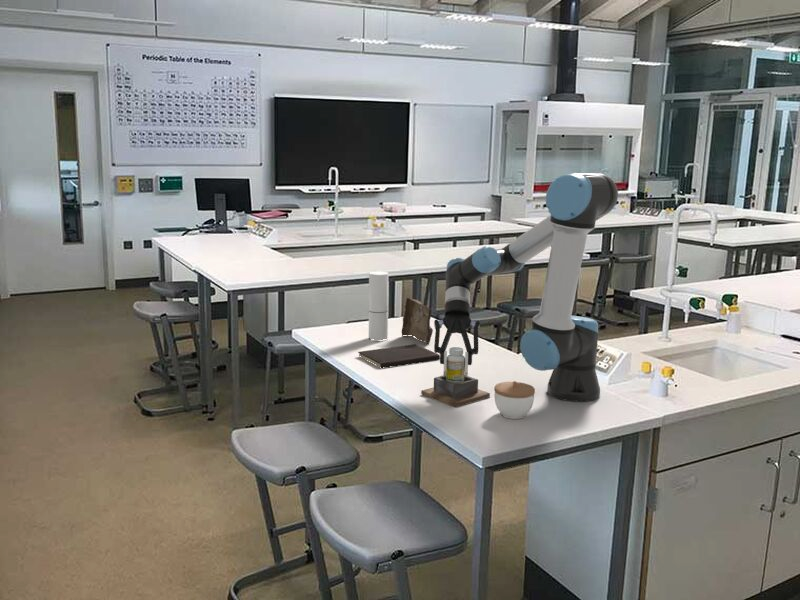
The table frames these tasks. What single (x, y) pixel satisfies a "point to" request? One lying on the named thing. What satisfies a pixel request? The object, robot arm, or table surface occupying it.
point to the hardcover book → (399, 355)
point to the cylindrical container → (378, 305)
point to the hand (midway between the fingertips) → (455, 373)
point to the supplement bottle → (455, 365)
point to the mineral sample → (417, 320)
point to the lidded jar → (514, 399)
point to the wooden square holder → (455, 391)
